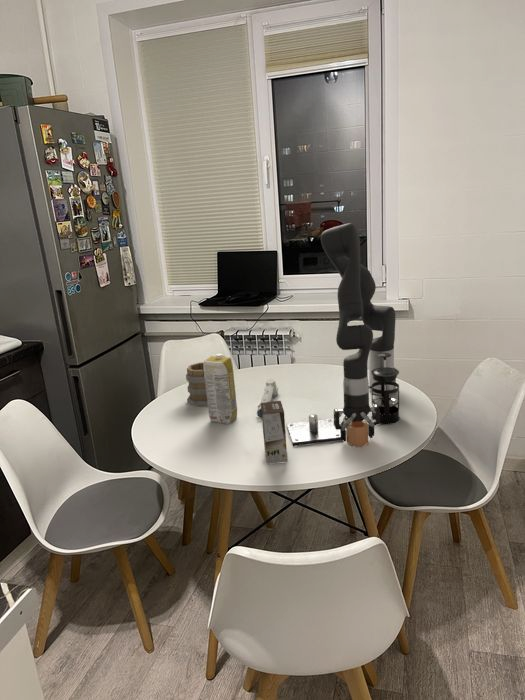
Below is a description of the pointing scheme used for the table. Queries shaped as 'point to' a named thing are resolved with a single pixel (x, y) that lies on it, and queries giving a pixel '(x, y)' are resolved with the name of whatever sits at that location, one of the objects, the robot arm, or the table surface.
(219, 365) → the juice carton
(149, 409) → the table surface
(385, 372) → the french press
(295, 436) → the plate
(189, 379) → the tankard
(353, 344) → the robot arm
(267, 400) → the toothbrush head
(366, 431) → the octagonal hollow tube
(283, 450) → the coffee box
